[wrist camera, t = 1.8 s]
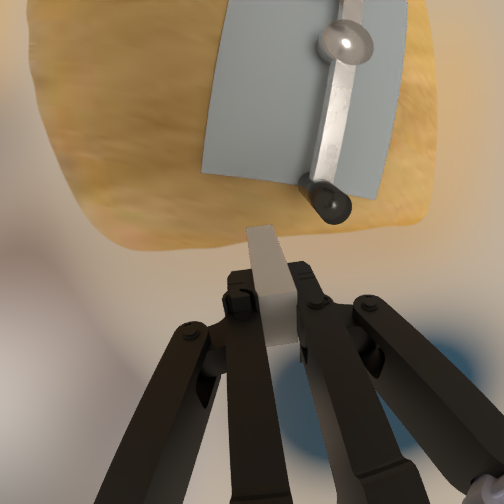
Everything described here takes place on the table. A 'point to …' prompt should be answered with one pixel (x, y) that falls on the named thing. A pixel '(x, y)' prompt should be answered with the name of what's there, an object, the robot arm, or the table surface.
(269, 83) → the base
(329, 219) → the lever
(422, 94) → the table surface
